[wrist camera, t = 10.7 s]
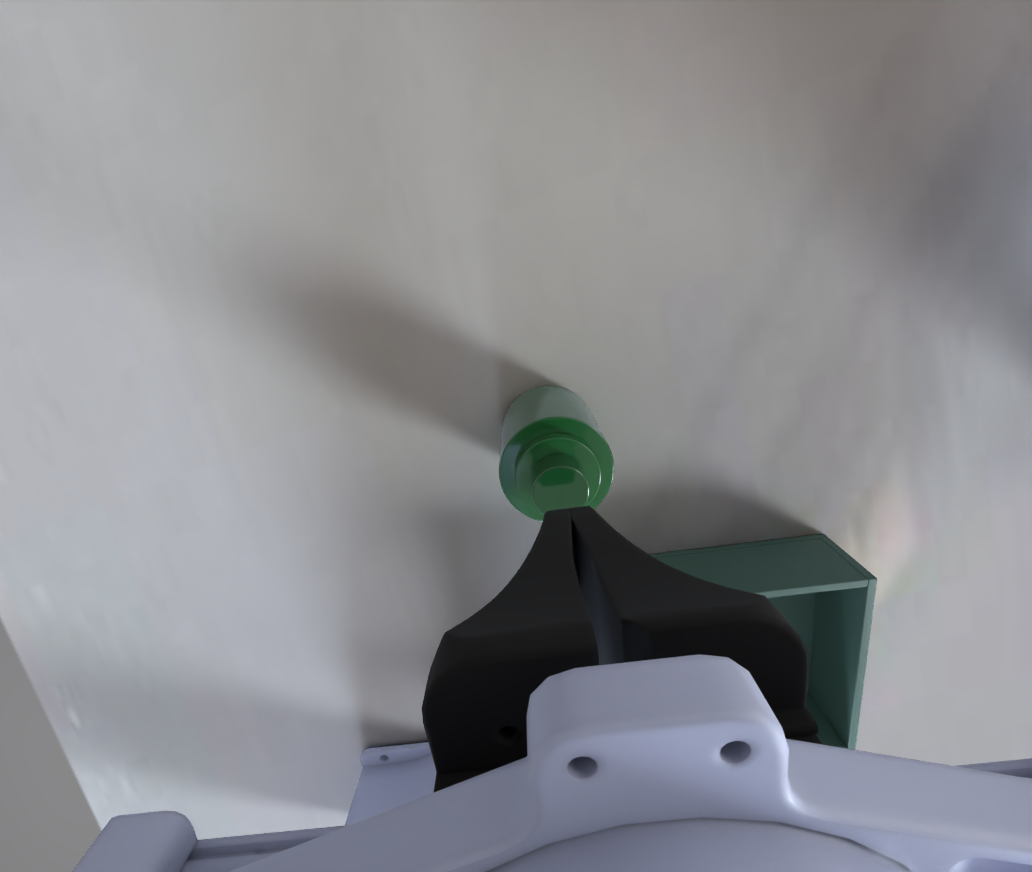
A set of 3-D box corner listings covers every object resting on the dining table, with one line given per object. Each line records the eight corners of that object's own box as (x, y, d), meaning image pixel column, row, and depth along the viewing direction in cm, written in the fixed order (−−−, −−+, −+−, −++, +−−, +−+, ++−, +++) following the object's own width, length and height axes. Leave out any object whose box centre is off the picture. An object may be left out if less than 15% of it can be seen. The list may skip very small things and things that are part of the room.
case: (810, 690, 28) (855, 753, 25) (572, 715, 29) (581, 780, 25) (823, 533, 25) (877, 578, 21) (552, 565, 25) (559, 615, 22)
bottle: (509, 476, 24) (506, 555, 17) (496, 391, 22) (487, 441, 16) (596, 465, 24) (628, 540, 17) (589, 379, 22) (620, 424, 16)
